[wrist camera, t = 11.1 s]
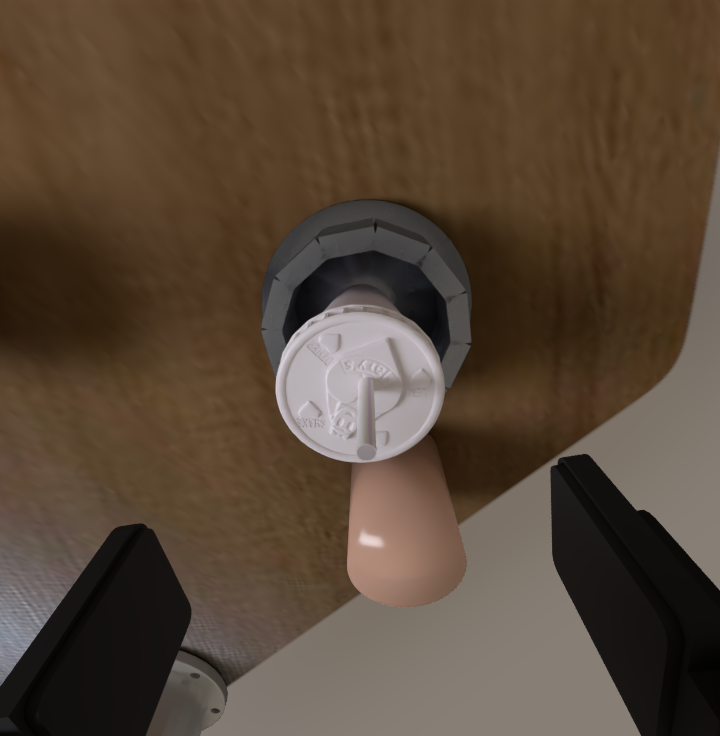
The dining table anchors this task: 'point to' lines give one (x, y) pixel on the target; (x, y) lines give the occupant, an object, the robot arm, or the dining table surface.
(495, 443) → the dining table surface
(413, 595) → the peach rounded cylinder
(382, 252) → the ring socket
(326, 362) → the smoothie
